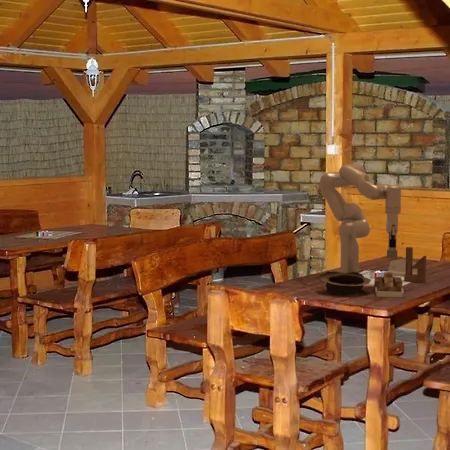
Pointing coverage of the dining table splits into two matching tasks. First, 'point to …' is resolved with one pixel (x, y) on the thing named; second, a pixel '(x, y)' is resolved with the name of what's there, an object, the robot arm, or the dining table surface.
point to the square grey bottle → (391, 251)
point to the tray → (389, 293)
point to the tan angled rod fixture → (409, 266)
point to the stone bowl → (344, 282)
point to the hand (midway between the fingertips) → (392, 246)
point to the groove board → (380, 287)
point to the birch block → (388, 282)
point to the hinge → (400, 268)
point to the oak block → (388, 275)
